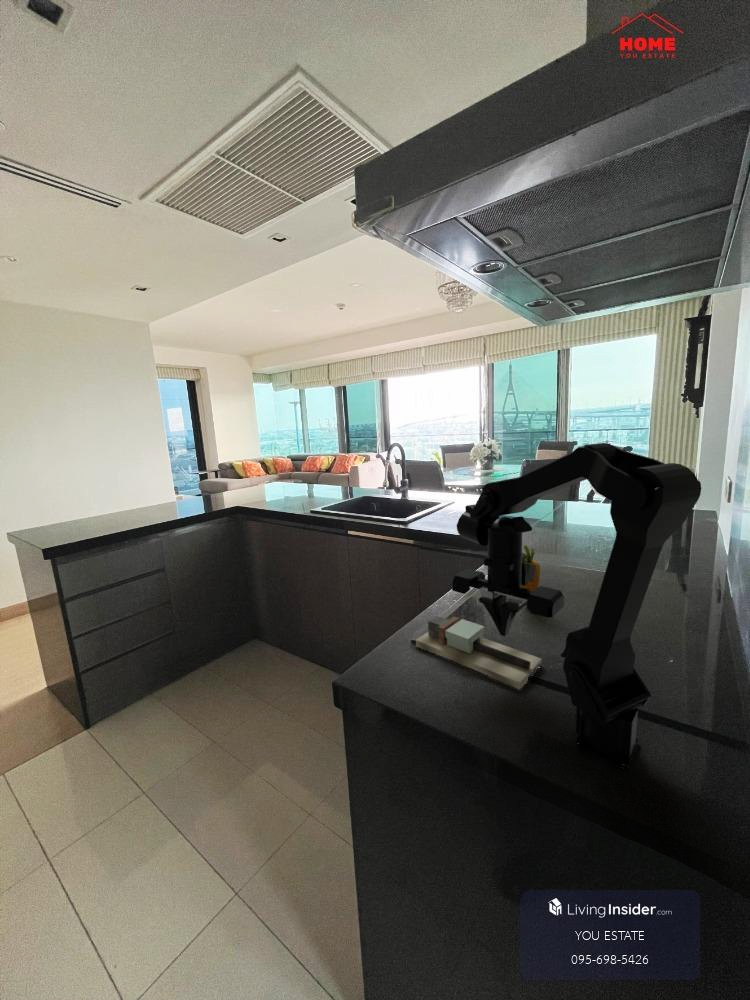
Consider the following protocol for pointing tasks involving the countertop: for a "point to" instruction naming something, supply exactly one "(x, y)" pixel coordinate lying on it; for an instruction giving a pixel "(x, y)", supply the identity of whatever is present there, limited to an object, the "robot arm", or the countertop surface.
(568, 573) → the countertop surface
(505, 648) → the board
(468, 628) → the pale green slider block
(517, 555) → the robot arm
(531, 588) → the carrot
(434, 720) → the countertop surface
